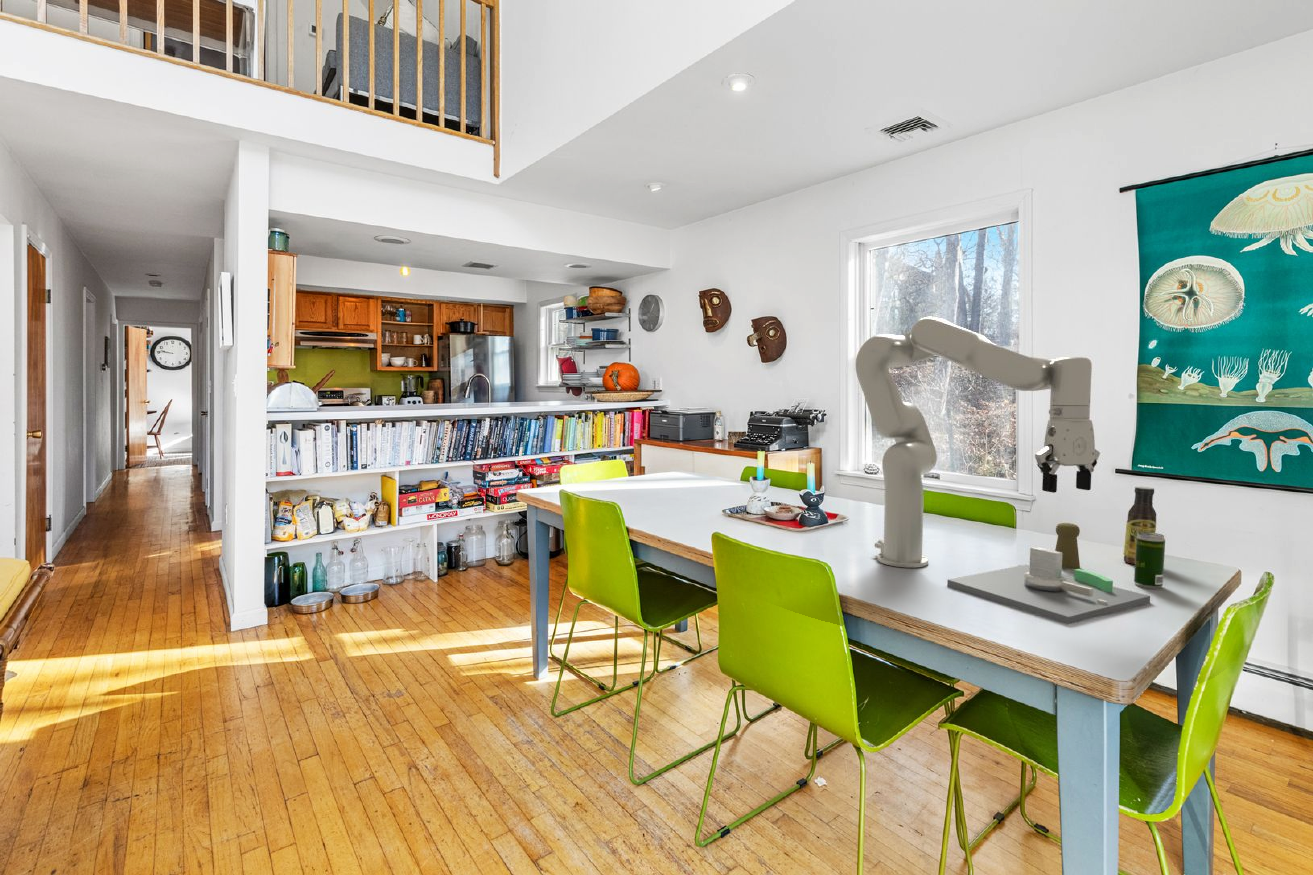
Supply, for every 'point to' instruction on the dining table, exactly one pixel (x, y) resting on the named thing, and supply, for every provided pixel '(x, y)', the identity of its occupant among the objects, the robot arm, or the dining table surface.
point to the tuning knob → (1050, 573)
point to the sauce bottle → (1139, 521)
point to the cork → (1068, 545)
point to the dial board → (1051, 594)
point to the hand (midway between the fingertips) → (1066, 490)
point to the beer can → (1149, 560)
